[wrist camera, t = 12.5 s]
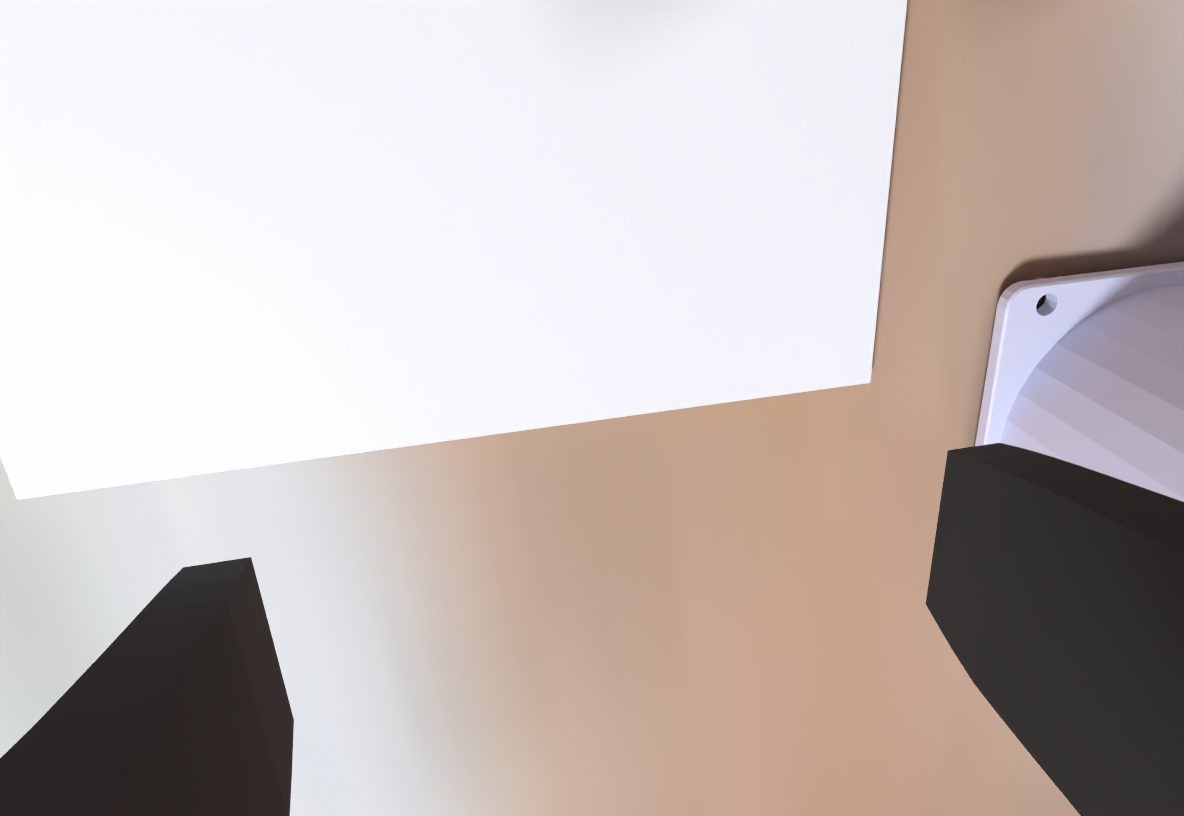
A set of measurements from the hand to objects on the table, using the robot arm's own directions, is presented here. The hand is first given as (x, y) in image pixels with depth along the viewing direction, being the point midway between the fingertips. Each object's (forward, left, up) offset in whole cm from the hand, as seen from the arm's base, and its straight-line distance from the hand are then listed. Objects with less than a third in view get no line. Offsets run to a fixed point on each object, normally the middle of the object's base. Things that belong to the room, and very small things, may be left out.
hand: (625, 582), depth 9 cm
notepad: (+1, -3, -10) cm, 10 cm away
